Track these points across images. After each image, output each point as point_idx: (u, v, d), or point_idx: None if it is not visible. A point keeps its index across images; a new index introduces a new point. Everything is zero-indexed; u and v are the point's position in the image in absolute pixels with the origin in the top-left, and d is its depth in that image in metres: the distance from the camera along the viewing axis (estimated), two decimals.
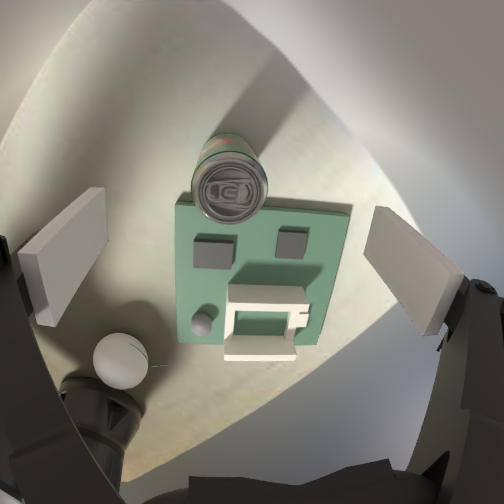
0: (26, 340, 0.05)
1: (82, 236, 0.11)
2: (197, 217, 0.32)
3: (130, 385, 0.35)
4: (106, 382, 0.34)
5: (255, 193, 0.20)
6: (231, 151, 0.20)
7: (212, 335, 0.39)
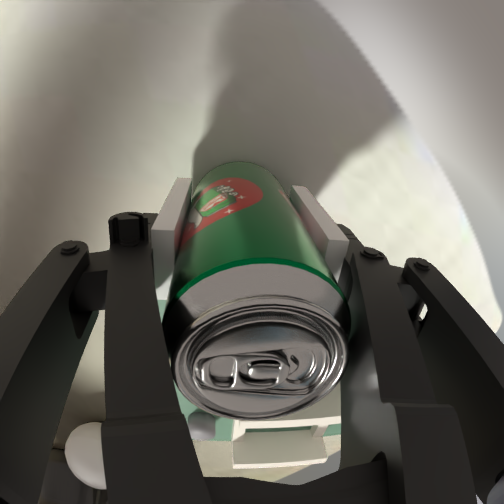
0: (151, 318, 0.06)
1: (185, 220, 0.14)
2: None
3: None
4: (84, 482, 0.21)
5: (326, 369, 0.07)
6: (268, 261, 0.07)
7: (217, 433, 0.26)
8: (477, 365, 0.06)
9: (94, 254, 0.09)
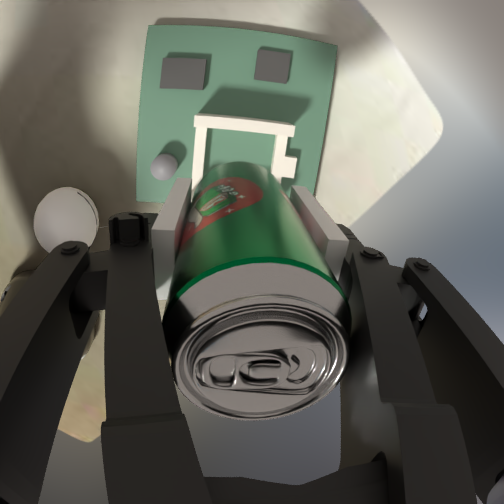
0: (152, 318, 0.06)
1: (185, 220, 0.14)
2: (170, 36, 0.24)
3: None
4: (42, 241, 0.26)
5: (326, 368, 0.07)
6: (268, 260, 0.07)
7: None
8: (477, 365, 0.06)
9: (94, 254, 0.09)
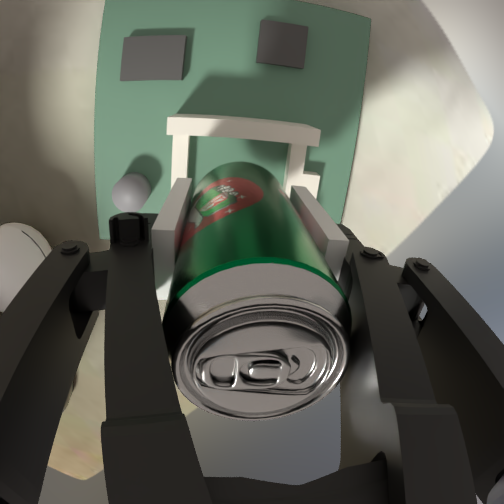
0: (152, 318, 0.06)
1: (185, 220, 0.14)
2: (135, 8, 0.15)
3: None
4: None
5: (327, 369, 0.07)
6: (268, 261, 0.07)
7: None
8: (477, 365, 0.06)
9: (94, 254, 0.09)
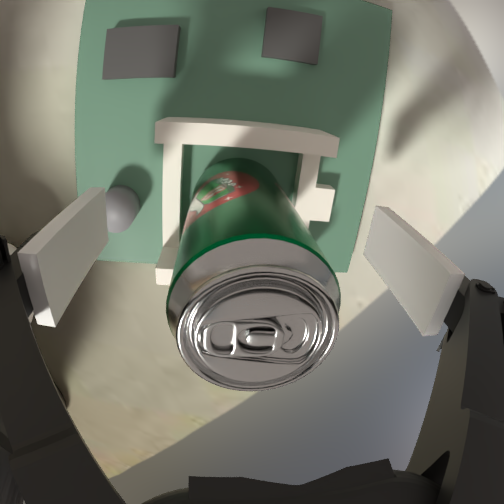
0: (26, 340, 0.05)
1: (82, 236, 0.11)
2: None
3: None
4: None
5: (317, 337, 0.08)
6: (263, 236, 0.08)
7: (144, 241, 0.20)
8: None
9: None
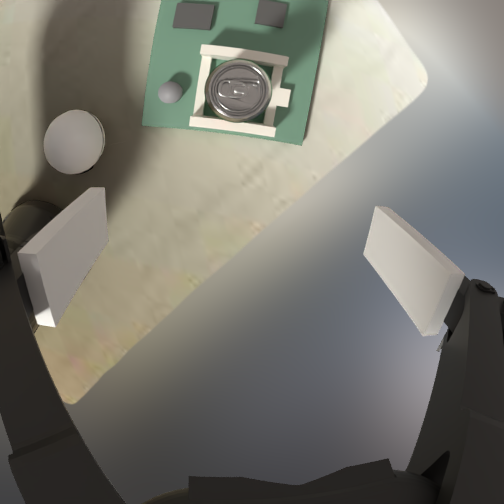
0: (26, 340, 0.05)
1: (82, 236, 0.11)
2: None
3: (75, 156, 0.28)
4: (50, 153, 0.27)
5: (260, 92, 0.21)
6: (242, 59, 0.21)
7: (181, 115, 0.32)
8: None
9: None
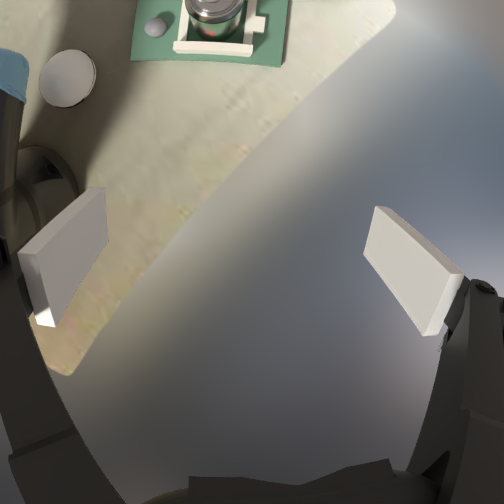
0: (26, 340, 0.05)
1: (82, 236, 0.11)
2: None
3: (68, 84, 0.27)
4: (45, 85, 0.26)
5: None
6: None
7: (166, 47, 0.31)
8: None
9: None
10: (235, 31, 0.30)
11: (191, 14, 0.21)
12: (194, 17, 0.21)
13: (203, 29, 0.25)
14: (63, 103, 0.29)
